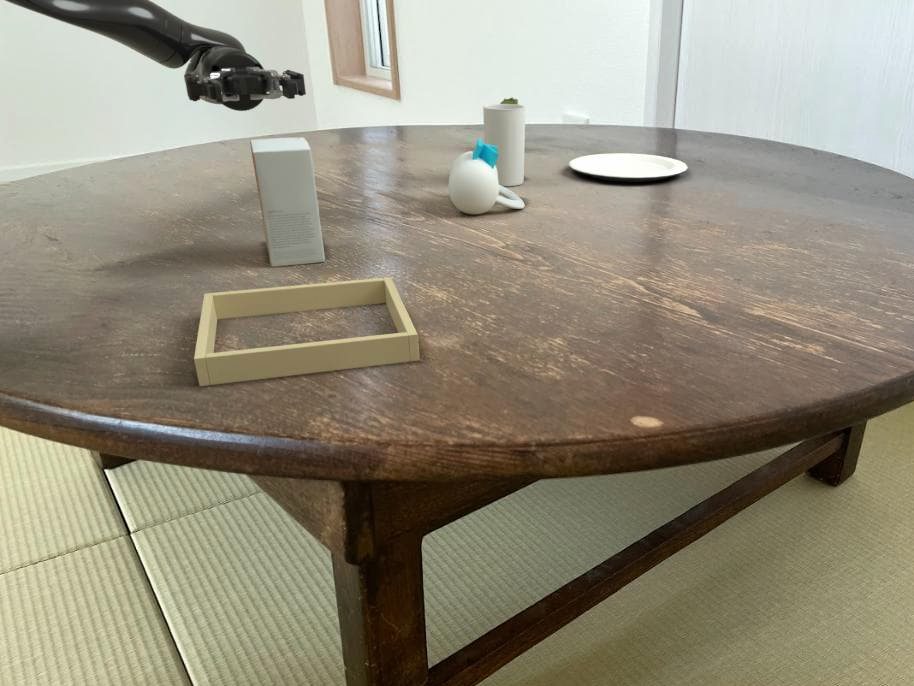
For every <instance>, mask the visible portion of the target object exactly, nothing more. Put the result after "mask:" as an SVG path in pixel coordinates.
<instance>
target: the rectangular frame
mask: <svg viewBox="0 0 914 686" xmlns="http://www.w3.org/2000/svg"><path fill="white" fill-rule="evenodd" d="M203 294H204V295H203V300H202V305H201V311H200V318H199V324H198V330H197V338H196V343H195V348H194V349H195V350H194V355H193V361H194V367H195V371H196V376H197V381H198V386H199V387H204V386H214V385H221V384H232V383H239V382H246V381H247V382H248V381H255V380H257V381H258V380H264V379H265V380H266V379H272V378H274V379H275V378H282V377H291V376H299V375H306V374H317V373H323V372H324V373H325V372H332V371H340V370H349V369H358V368H365V367H374V366H383V365H391V364H399V363H408V362H418V361H420V347H419V334H418V332H417V330H416V328H415V326H414V323H413V321H412V319H411V317H410V315H409V313H408V311H407V308H406V306H405V305H404V302H403V301H402V298H401V296H400V294H399V292H398V289H397V287H396V285H395V283H394V281H393V279H392V276H387V277H386V276H385V277H376V278H375V277H374V278H366V279H365V278H363V279H354V280H353V279H352V280H343V281H330V282H320V283H319V282H318V283H308V284H297V285H287V286H286V285H285V286H276V287H263V288H252V289H241V290H231V291H230V290H229V291H219V292H208V293H203ZM378 304H379V305H380V304H386V307H387V309H388V312H389V313H390V316H391V319H392V321H393V323H394V326H395V328H396V331H397V332H396V333H394V332H393V333H387V334H377V335H367V336H357V337H347V338H341V339H340V338H338V339H330V340H321V341H309V342H302V343H293V344H283V345H274V346H273V345H272V346H266V347H255V348H246V349H237V350H229V351H227V350H226V351H217V352H215V343H216V336H217V335H216V334H217V325H218V320H226V319H234V318H245V317H254V316H255V317H257V316H266V315H276V314H285V313H287V314H288V313H296V312H297V313H298V312H306V311H308V312H309V311H317V310H326V309H336V308H337V309H338V308H339V309H340V308H347V307H348V308H349V307H358V306H367V305H378Z"/></svg>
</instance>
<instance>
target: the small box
mask: <svg viewBox="0 0 914 686" xmlns="http://www.w3.org/2000/svg"><path fill="white" fill-rule="evenodd" d="M249 143H250V151H251V159H252V163H253V170H254V175H255V183H256V188H257V194H258V200H259V201H258V202H259V206H260V212H261V219H262V224H263V232H264V238H265V245H266V247H267V248H266V249H267V252H268V257H269V264H270V266H271V267H272V268H276V267H285V266H286V267H287V266H297V265H307V264H318V263H324V262H326V256H325V249H324V240H323V232H322V226H321V219H320V217H321V216H320V208H319V200H318V194H317V185H316V179H315V178H316V177H315V171H314V163H313V155H312V149H311V146H310V144H309V142H308V141H307V140H306V138H305V137H276V138H275V137H273V138H262V139H261V138H260V139H251V140H249Z"/></svg>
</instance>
